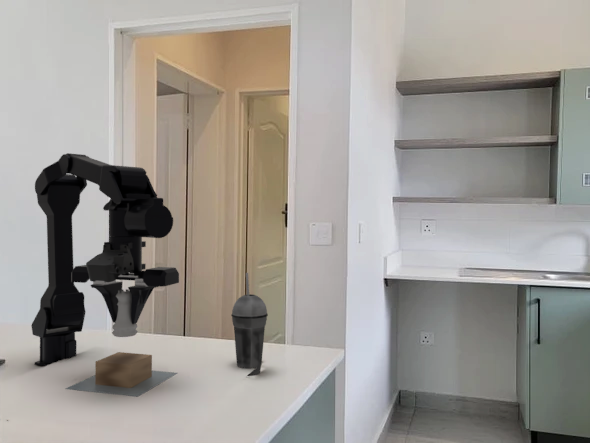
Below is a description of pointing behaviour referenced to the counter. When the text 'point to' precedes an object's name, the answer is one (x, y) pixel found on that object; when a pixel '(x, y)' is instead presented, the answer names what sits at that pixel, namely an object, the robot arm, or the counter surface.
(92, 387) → the build plate
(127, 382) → the base brick
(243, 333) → the beverage cup
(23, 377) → the counter surface
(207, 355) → the counter surface
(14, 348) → the counter surface
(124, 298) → the rook chess piece
